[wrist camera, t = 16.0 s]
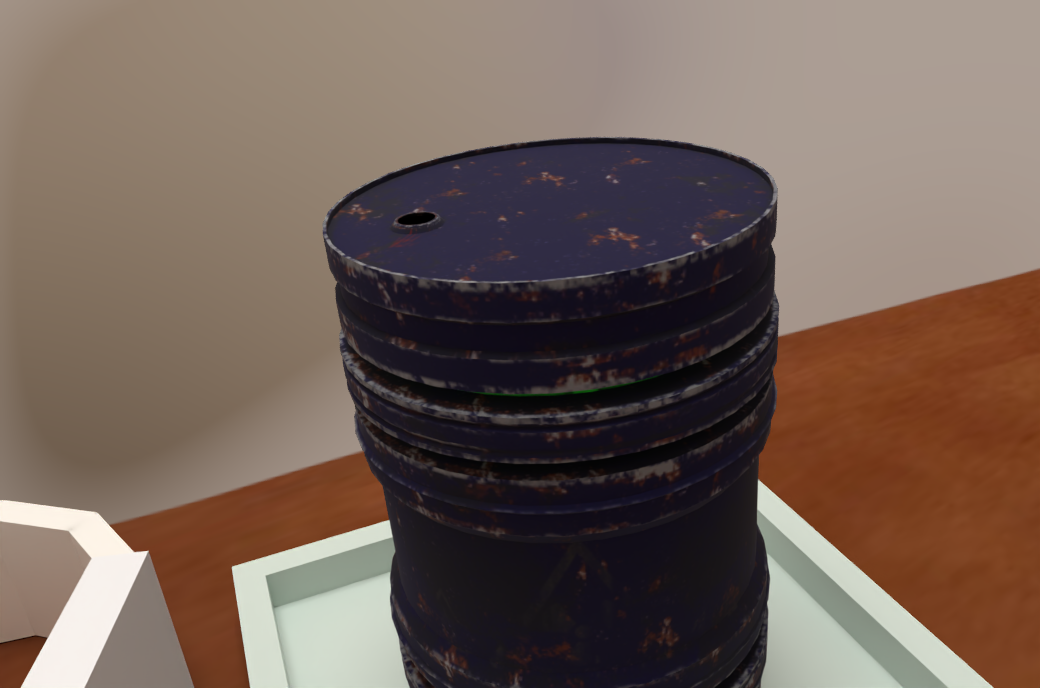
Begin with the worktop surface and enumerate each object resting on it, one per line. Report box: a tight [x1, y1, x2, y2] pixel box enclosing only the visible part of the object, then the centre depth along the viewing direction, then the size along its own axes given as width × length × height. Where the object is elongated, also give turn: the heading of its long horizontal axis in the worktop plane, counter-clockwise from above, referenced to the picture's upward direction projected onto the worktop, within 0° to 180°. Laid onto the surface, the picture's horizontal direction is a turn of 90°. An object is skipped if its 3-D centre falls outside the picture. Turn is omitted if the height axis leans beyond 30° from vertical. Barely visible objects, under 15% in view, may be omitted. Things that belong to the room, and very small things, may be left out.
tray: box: [232, 480, 993, 688], centre depth 26 cm, size 18×18×2 cm
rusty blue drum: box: [323, 137, 779, 688], centre depth 23 cm, size 10×10×15 cm
